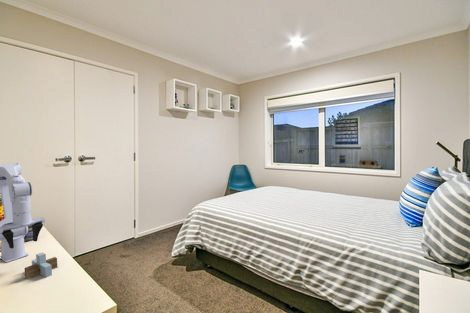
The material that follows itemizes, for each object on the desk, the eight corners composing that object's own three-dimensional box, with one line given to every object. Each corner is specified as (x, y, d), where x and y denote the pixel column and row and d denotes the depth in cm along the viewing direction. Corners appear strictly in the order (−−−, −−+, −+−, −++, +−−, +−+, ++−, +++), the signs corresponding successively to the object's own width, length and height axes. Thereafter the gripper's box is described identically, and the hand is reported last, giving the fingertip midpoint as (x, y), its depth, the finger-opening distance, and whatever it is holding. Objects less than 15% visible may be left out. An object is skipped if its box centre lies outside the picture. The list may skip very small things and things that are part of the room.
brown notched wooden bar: (25, 277, 90) (24, 267, 90) (55, 266, 98) (54, 256, 98) (27, 279, 89) (26, 269, 89) (57, 267, 97) (57, 257, 97)
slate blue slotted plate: (32, 269, 96) (31, 252, 95) (38, 267, 97) (37, 250, 97) (45, 277, 90) (44, 258, 90) (51, 274, 92) (50, 256, 91)
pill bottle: (27, 242, 124) (25, 222, 124) (18, 242, 125) (16, 221, 125) (39, 238, 130) (37, 218, 130) (30, 237, 131) (29, 218, 131)
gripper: (1, 218, 87) (3, 253, 88) (47, 208, 100) (49, 239, 101) (-6, 215, 91) (-3, 249, 92) (39, 207, 104) (41, 236, 104)
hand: (23, 244), depth 96 cm, fingers open, 7 cm apart
